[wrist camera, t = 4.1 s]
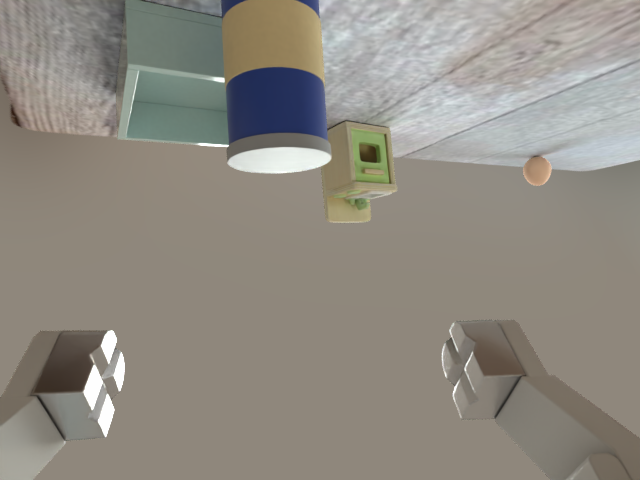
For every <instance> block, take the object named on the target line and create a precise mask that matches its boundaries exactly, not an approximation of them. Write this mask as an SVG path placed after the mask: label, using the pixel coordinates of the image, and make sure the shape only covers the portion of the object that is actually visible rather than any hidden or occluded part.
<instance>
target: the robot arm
mask: <svg viewBox="0 0 640 480" xmlns="http://www.w3.org/2000/svg"><path fill="white" fill-rule="evenodd" d="M450 333H451V336H452V337H451V338H450V339H449V340H447V341H446V342H445V344H444V347H443V350H442V364H443V370H444V372H445V375H446V378H447V379H448V380H449V381H450V382H451V383H452V384H453V385H454V386H455V389H454V392H453V398H454V401H455V403H456V406H457V408H458V411H459V414H460V417H461V419H462V420H471V419H472V420H474V419H495V422H496V423H497V424H498V425H499V426H500V427H501V428H502V429H503V430H504V431H505V432H506V434H508V436H509V437H510V438H511V439H512V440H513V441H514V442H515V443H516V444H517V445H518V446H519V447H520V448H521V449H522V450H523V451H524V452H525V453H526V455H527V456H528V457H529V458H530V459H531V460H532V461H533V462H534V463H535V464H536V465H537V466H538V467H539V468H540V469H541V470H542V471H543V472H544V473H545V475H546V476H547V477H548V478H549V479H550V480H640V438H639V437H637V436H636V435H635V434H633V433H632V432H631V431H629V430H628V429H627V428H625V427H624V426H623V425H621V424H620V423H619V422H617V421H616V420H614V419H613V418H612V417H610V416H609V415H608V414H606V413H605V412H603V411H602V410H601V409H600V408H598V407H597V406H595V405H594V404H593V403H591V402H590V401H589V400H587V399H586V398H585V397H583V396H582V395H581V394H579V393H578V392H577V391H575V390H574V389H572V388H571V387H570V386H568V385H567V384H566V383H564V382H563V381H562V380H560V379H559V378H558V377H556V376H555V375H548V373H547V372H546V370H545V368H544V366H543V365H542V363H541V361H540V359H539V358H538V356H537V354H536V352H535V351H534V349H533V347H532V346H531V344H530V342H529V340H528V339H527V337H526V335H525V334H524V332H523V330H522V328H521V327H520V325H519V323H518V322H516V321H515V320H494V321H493V320H475V321H456V322H454V323H453V324H452V326H451V328H450ZM116 341H117V339H116V337H115V335H114V332H113V331H40V332H39V333H38V334H36V335H35V336H34V337H33V339H32V341H31V342H30V344H29V346H28V348H27V350H26V352H25V354H24V355H23V357H22V359H21V361H20V363H19V365H18V366H17V368H16V370H15V372H14V374H13V376H12V378H11V379H10V381H9V383H8V385H7V387H6V389H5V391H4V393H3V394H2V396H1V397H0V480H33V479H34V478H35V477H36V476H37V474H38V473H39V472H40V471H41V470H42V469H43V468H44V467H45V465H46V464H47V463H48V462H49V461H50V460H51V459H52V458H53V457H54V456H55V454H56V453H57V452H58V451H59V450H60V449H61V448H62V447H63V445H64V444H65V441H69V440H82V439H95V438H105V437H106V435H107V432H108V429H109V425H110V422H111V419H112V416H113V413H114V408H113V405H112V403H111V400H112V399H113V398H114V397H115V396H116V395H117V394H118V393H119V392H120V389H121V386H122V382H123V377H124V359H123V356H122V353H121V352H120V351H119V350H117V349H116V348H114V347H115V344H116Z"/></svg>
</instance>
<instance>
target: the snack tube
mask: <svg viewBox="0 0 640 480" xmlns="http://www.w3.org/2000/svg"><path fill="white" fill-rule="evenodd" d="M221 6H222V41H223V60H224V79H225V91H226V101H227V120H228V139H229V146H228V147H227V163H228V165H229V166H231V167H233V168H235V169H238V170H241V171H247V172H254V173H290V172H298V171H305V170H310V169H314V168H317V167H320V166H323V165H325V164H327V163H328V162H329V161H330V160H331V145H330V143H329V142H328V134H327V119H326V105H325V90H324V89H325V78H324V63H323V48H322V34H321V22H320V16H319V1H318V0H221Z"/></svg>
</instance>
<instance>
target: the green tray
mask: <svg viewBox="0 0 640 480" xmlns="http://www.w3.org/2000/svg"><path fill="white" fill-rule="evenodd" d="M116 122H117V139H123V140H137V141H151V142H164V143H180V144H192V145H207V146H220V147H228V146H229V139H228V120H227V101H226V91H225V79H224V60H223V41H222V18H221V17H216V16H211V15H207V14H202V13H197V12H192V11H188V10H183V9H178V8H174V7H169V6H164V5H159V4H155V3H150V2H145V1H141V0H125V4H124V15H123V25H122V35H121V45H120V55H119V65H118V75H117V86H116Z"/></svg>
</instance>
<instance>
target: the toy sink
mask: <svg viewBox="0 0 640 480" xmlns="http://www.w3.org/2000/svg"><path fill="white" fill-rule="evenodd" d="M327 134H328V142H329V143H330V145H331V160H330V161H329V162H328V163H327V164H325V165H323V166H321V175H322V186H323V198H324V209H325V218H326V220H327V221H328V222H337V223H338V222H339V223H341V222H343V223H346V222H347V223H348V222H349V223H351V222H367V221H369V220H370V219H371V210H370V199H373V198H377V197H381V196H385V195H389V194H391V193H392V192H396V191H397V185H396V184H395V175H394V164H393V154H392V144H391V133H390V129H389V128H386V127H380V126H374V125H367V124H361V123H355V122H349V121H345V122H343V123H341V124H339V125H337V126H335V127H333V128H331V129H329V130H327Z"/></svg>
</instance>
